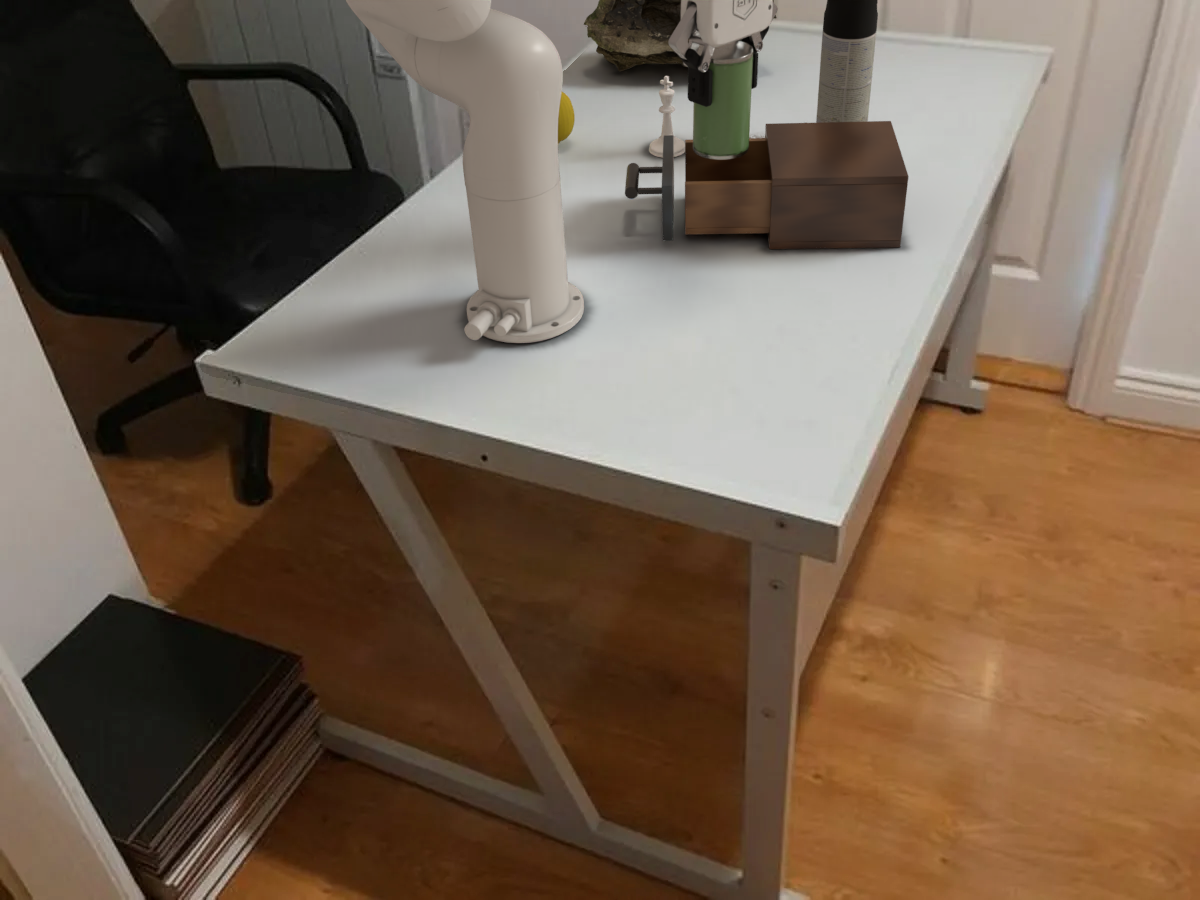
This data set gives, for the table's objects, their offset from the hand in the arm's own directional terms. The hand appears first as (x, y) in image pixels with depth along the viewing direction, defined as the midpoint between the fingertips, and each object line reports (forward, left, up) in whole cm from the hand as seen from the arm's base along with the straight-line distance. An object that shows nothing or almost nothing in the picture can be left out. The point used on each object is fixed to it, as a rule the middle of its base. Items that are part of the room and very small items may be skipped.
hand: (722, 92), depth 136 cm
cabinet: (+5, -12, -16) cm, 20 cm away
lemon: (+14, +28, -16) cm, 35 cm away
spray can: (+26, -8, -16) cm, 31 cm away
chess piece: (+17, +13, -16) cm, 27 cm away
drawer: (0, +2, -15) cm, 15 cm away
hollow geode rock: (+44, +21, -16) cm, 51 cm away
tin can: (0, 0, -7) cm, 7 cm away
